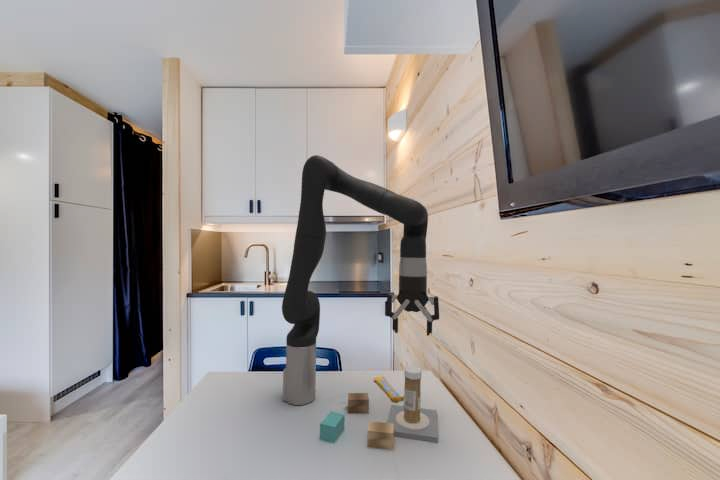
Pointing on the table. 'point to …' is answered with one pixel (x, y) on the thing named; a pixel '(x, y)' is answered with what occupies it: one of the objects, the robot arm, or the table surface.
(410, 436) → the slate board
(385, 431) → the oak block
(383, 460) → the table surface
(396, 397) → the candy bar
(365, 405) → the walnut block
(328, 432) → the teal block
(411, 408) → the sprinkles bottle
